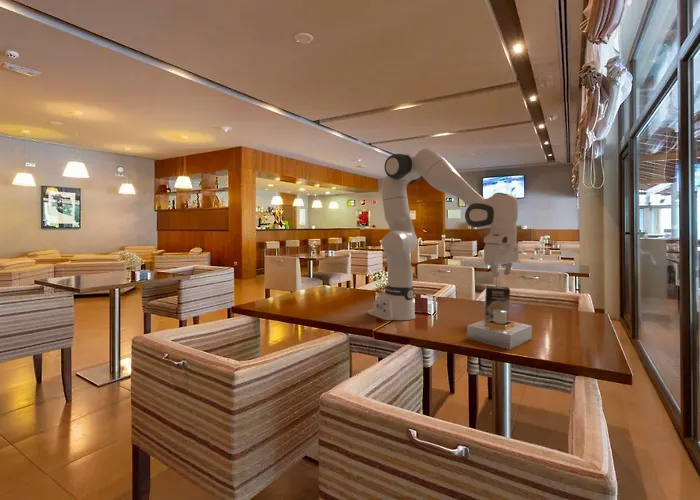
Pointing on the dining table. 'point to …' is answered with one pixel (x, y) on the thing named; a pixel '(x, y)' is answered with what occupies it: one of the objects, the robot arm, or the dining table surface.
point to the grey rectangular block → (499, 333)
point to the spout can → (499, 316)
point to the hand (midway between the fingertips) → (501, 276)
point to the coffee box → (496, 300)
